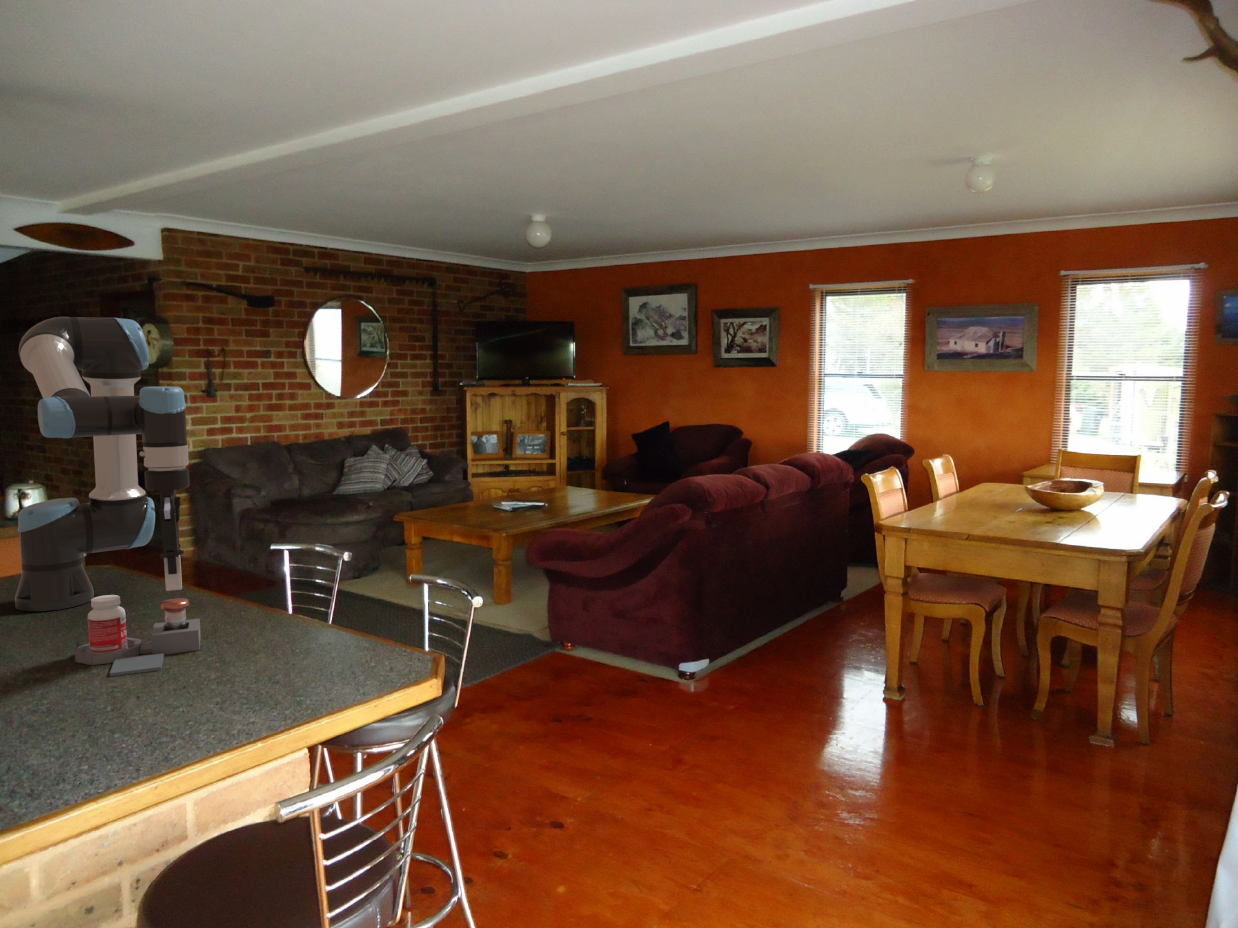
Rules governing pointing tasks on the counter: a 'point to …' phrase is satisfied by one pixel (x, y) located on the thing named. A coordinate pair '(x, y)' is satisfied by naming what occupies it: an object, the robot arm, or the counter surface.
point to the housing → (149, 644)
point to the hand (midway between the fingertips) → (174, 589)
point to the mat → (137, 664)
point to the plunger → (175, 613)
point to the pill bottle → (107, 625)
